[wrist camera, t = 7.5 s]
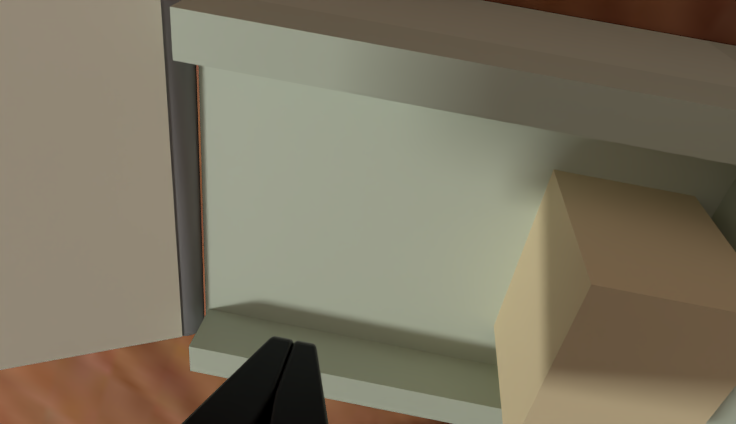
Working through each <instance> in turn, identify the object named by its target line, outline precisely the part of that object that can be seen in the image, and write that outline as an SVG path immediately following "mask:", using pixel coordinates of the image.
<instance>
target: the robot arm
mask: <svg viewBox="0 0 736 424" xmlns="http://www.w3.org/2000/svg"><path fill="white" fill-rule="evenodd" d="M182 424H328V419H327V412H326V405H325V399H324V392H323V386H322V379H321V373H320V366H319V359H318V353H317V347H316V345H315V344H313V343H308V342H303V341H295V342H293V340H291V339H288V338H283V337H278V336H273V337H271V338H269V339H268V340H267V341H266V342H265V343H264V344H263V345H262V346H261V347H260V348H259V349H258V350H257V351H256V352H255V353H254V354H253V355H252V356H251V357H250V358H249V359H248V360H247V361H246V362H245V363H244V364H243V365H242V366H241V367H240V368H238V369H237V370H236V371H235V372H234V373H233V374H232V375H231V376H230V377H229V378H228V379H227V380H226V381H225V382H224V383H223V384H222V385H221V386H220V387H219V388H218V389H217V390H216V391H215V392H214V393H213V394H212V395H211V396H210V397H209V398H208V399H207V400H206V401H205V402H204V403H202V404H201V405H200V406H199V407H198V408H197V409H196V410H195V411H194V412H193V413H192V414H191V415H190V416H189V417H188V418H187V419H186V420H185V421H184V422H183V423H182Z"/></svg>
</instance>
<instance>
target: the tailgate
mask: <svg viewBox="0 0 736 424" xmlns="http://www.w3.org/2000/svg"><path fill="white" fill-rule="evenodd" d="M179 1H181V0H0V370H2V369H8V368H13V367H19V366H24V365H30V364H35V363H41V362H46V361H51V360H57V359H62V358H68V357H73V356H79V355H84V354H90V353H95V352H101V351H106V350H112V349H117V348H123V347H128V346H134V345H139V344H144V343H150V342H155V341H161V340H166V339H172V338H177V337H182V336H188V335H192V334H195V333H196V332H197V331H198V329H199V327H200V325H201V323H202V321H203V319H204V293H203V262H202V231H201V201H200V170H199V139H198V108H197V77H196V65H195V64H190V63H185V62H179V61H174V60H173V55H172V37H171V20H170V6H172V5H174V4H176V3H178V2H179Z"/></svg>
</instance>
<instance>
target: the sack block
mask: <svg viewBox="0 0 736 424" xmlns="http://www.w3.org/2000/svg"><path fill="white" fill-rule="evenodd" d="M494 334H495V345H496V355H497V366H498V377H499V388H500V399H501V410H502V421H503V424H706V422H707V421H708V420H709V419H710V417H711V416H712V415H713V414H714V412H715V411H716V410H717V409H718V407H719V406H720V405H721V404H722V402H723V401H724V400H725V399H726V397H727V396H728V395H729V393H730V392H731V391H732V390H733V388H734V387H735V386H736V252H735V251H734V249H733V248H732V247H731V245H730V244H729V242H728V241H727V240H726V238H725V237H724V236H723V234H722V233H721V231H720V230H719V229H718V227H717V226H716V224H715V223H714V222H713V220H712V219H711V218H710V216H709V215H708V213H707V212H706V211H705V209H704V208H703V207H702V205H701V204H700V202H699V201H698V200H697V198H696V197H695V196H692V195H686V194H681V193H676V192H670V191H665V190H660V189H654V188H649V187H644V186H638V185H633V184H628V183H622V182H617V181H612V180H607V179H601V178H596V177H591V176H585V175H580V174H575V173H569V172H564V171H559V170H553V172H552V175H551V177H550V180H549V183H548V185H547V188H546V190H545V193H544V196H543V198H542V201H541V203H540V206H539V209H538V211H537V214H536V217H535V219H534V222H533V224H532V227H531V230H530V232H529V235H528V238H527V240H526V243H525V245H524V248H523V251H522V253H521V256H520V259H519V261H518V264H517V266H516V269H515V272H514V274H513V277H512V280H511V282H510V285H509V287H508V290H507V293H506V295H505V298H504V301H503V303H502V306H501V308H500V311H499V314H498V316H497V319H496V322H495V324H494Z"/></svg>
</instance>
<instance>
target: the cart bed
mask: <svg viewBox="0 0 736 424" xmlns="http://www.w3.org/2000/svg"><path fill="white" fill-rule="evenodd" d="M170 20H171V37H172V55H173V60H174V61H179V62H185V63H190V64H195V65H199V92H200V126H201V159H202V193H203V226H204V260H205V294H206V316H205V317H204V319H203V321H202V323H201V325H200V327H199V329H198V331H197V332H196V334H195V336H194V338H193V340H192V342H191V344H190V345H189V356H190V371H194V372H199V373H204V374H209V375H214V376H219V377H224V378H229V377H230V376H231V375H232V374H233V373H234V372H235V371H236V370H237V369H238V368H240V367H241V366H242V365H243V364H244V363H245V362H246V361H247V360H248V359H249V358H250V357H251V356H252V355H253V354H254V353H255V352H256V351H257V350H258V349H259V348H260V347H261V346H262V345H263V344H264V343H265V342H266V341H267V340H268V339H269V338H271V337H273V336H278V337H283V338H288V339H291V340H293V342H295V341H303V342H308V343H313V344H315V345H316V347H317V353H318V359H319V366H320V373H321V379H322V386H323V392H324V398H328V399H333V400H338V401H343V402H348V403H353V404H358V405H363V406H368V407H373V408H378V409H383V410H388V411H393V412H398V413H403V414H408V415H413V416H418V417H422V418H427V419H432V420H437V421H442V422H447V423H452V424H503V421H502V410H501V399H500V388H499V377H498V366H497V355H496V345H495V334H494V324H495V322H496V319H497V316H498V314H499V311H500V308H501V306H502V303H503V301H504V298H505V295H506V293H507V290H508V287H509V285H510V282H511V280H512V277H513V274H514V272H515V269H516V266H517V264H518V261H519V259H520V256H521V253H522V251H523V248H524V245H525V243H526V240H527V238H528V235H529V232H530V230H531V227H532V224H533V222H534V219H535V217H536V214H537V211H538V209H539V206H540V203H541V201H542V198H543V196H544V193H545V190H546V188H547V185H548V183H549V180H550V177H551V175H552V172H553V170H559V171H564V172H569V173H575V174H580V175H585V176H591V177H596V178H601V179H607V180H612V181H617V182H622V183H628V184H633V185H638V186H644V187H649V188H654V189H660V190H665V191H670V192H676V193H681V194H686V195H692V196H695V197H696V198H697V200H698V201H699V202H700V204H701V205H702V207H703V208H704V209H705V211H706V212H707V213H708V215H709V216H710V218H711V219H712V220H713V222H714V223H715V224H716V226H717V227H718V229H719V230H720V231H721V233H722V234H723V236H724V237H725V238H726V240H727V241H728V242H729V244H730V245H731V247H732V248H733V249H734V251H735V252H736V46H734V45H728V44H722V43H717V42H711V41H706V40H700V39H695V38H689V37H684V36H678V35H672V34H667V33H661V32H656V31H650V30H645V29H639V28H634V27H628V26H622V25H617V24H611V23H606V22H600V21H595V20H589V19H584V18H578V17H572V16H567V15H561V14H556V13H550V12H545V11H539V10H534V9H528V8H522V7H517V6H511V5H506V4H500V3H495V2H489V1H484V0H181V1H179V2H178V3H176V4H174V5H172V6H170ZM706 424H736V386H735V387H734V388H733V390H732V391H731V392H730V393H729V395H728V396H727V397H726V399H725V400H724V401H723V402H722V404H721V405H720V406H719V407H718V409H717V410H716V411H715V412H714V414H713V415H712V416H711V417H710V419H709V420H708V421H707V422H706Z"/></svg>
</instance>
